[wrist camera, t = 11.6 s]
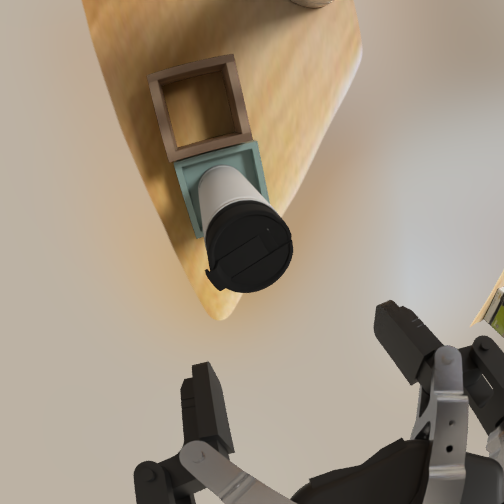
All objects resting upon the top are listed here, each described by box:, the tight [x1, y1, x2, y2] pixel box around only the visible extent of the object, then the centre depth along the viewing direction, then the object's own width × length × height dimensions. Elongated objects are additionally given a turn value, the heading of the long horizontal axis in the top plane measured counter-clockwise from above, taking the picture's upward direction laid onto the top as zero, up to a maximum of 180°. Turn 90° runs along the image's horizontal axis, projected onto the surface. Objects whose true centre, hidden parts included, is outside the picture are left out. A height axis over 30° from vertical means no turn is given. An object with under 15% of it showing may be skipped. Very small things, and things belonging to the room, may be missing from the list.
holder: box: [147, 54, 253, 163], centre depth 29 cm, size 11×10×5 cm
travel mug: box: [198, 164, 293, 293], centre depth 27 cm, size 6×7×20 cm
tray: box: [174, 140, 270, 239], centre depth 36 cm, size 11×11×2 cm
